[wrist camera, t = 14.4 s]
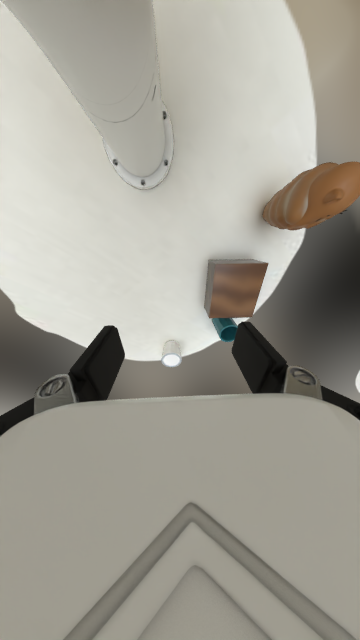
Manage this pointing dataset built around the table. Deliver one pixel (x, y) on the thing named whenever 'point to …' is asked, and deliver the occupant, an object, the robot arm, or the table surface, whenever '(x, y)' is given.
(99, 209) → the table surface
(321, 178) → the brown ridged oblong lump
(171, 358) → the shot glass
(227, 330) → the drinking cup
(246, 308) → the stand
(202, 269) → the table surface
